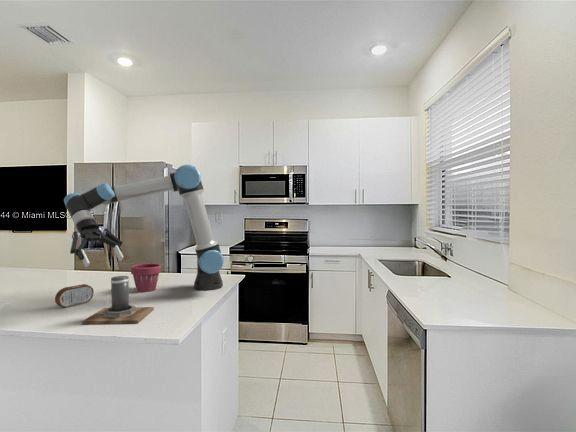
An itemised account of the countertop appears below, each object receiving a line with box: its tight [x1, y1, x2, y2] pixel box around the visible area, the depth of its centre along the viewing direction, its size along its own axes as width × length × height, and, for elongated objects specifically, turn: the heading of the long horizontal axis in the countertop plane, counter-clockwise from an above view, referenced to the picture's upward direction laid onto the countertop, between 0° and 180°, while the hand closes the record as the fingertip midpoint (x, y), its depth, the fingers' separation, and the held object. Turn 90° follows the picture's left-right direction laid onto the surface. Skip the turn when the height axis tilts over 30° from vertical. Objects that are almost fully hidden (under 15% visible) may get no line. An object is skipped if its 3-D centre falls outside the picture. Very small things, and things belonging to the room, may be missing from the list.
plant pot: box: [130, 263, 162, 293], centre depth 167 cm, size 14×14×13 cm
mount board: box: [81, 304, 155, 325], centre depth 126 cm, size 20×16×3 cm
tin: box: [54, 283, 95, 308], centre depth 141 cm, size 15×3×8 cm, turn 151°
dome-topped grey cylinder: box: [110, 275, 130, 312], centre depth 126 cm, size 6×6×14 cm
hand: (105, 262), depth 132 cm, fingers open, 13 cm apart
